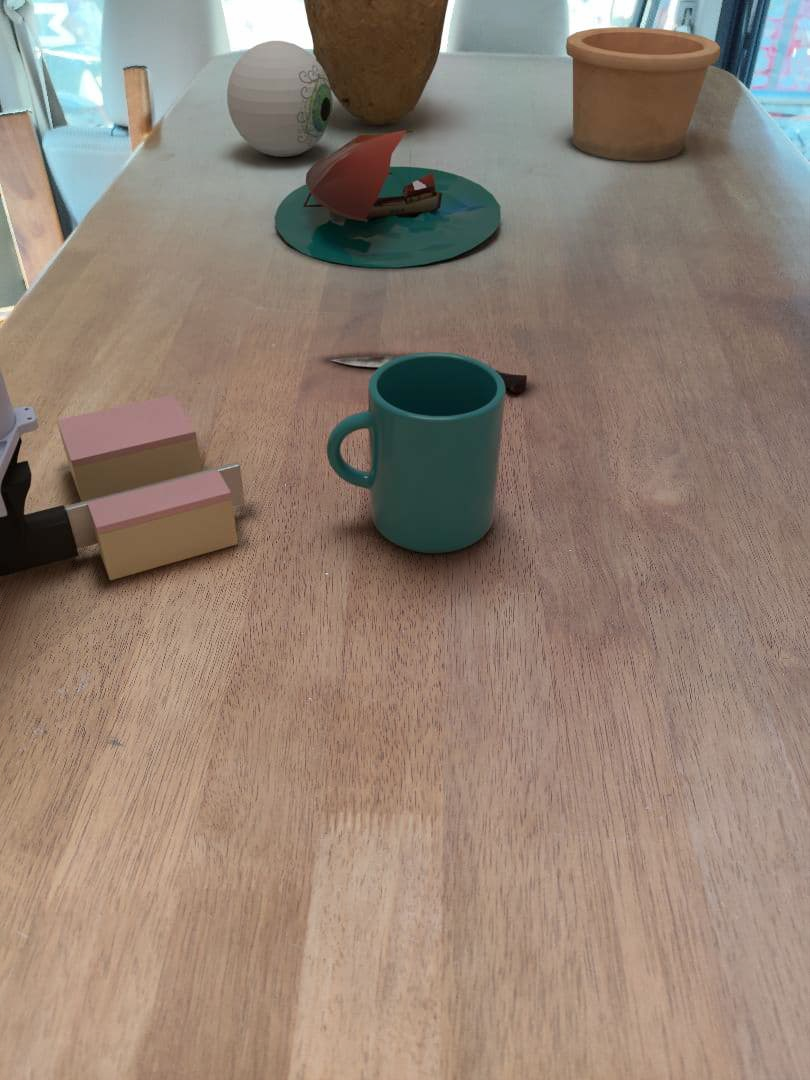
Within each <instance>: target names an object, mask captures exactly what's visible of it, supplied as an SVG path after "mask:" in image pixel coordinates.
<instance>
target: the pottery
mask: <svg viewBox="0 0 810 1080" xmlns="http://www.w3.org/2000/svg"><path fill="white" fill-rule="evenodd" d="M565 50H566V51H565V52H566V55H567V56H569V57H571V58H572V144H573V145H574V146H575V147H576V149H578V150H580V151H581V152H583V153H586V154H588V155H591V156H594V157H597V158H598V157H599V158H603V159H607V160H612V161H613V160H615V161H624V162H653V161H660V160H667V159H669V158H672V157H674V156H676V155H678V154H679V153H680V152H681V150H682V149H683V145H684V142H685V140H686V136H687V133H688V130H689V128H690V123H691V121H692V118H693V115H694V112H695V108H696V106H697V103H698V100H699V97H700V93H701V92H702V88H703V85H704V82H705V79H706V75H707V72H708V70H709V67H712V66H713V65H714V64H716V63H717V62H718V60H719V59H720V54H721V47H720V45H719V44H718V42H717V41H715V40H712V39H710V38H707V37H706V36H703V35H699V34H694V33H689V32H685V31H679V30H673V29H672V30H671V29H663V28H655V27H654V28H653V27H639V26H638V27H637V26H636V27H633V26H631V27H629V26H624V27H623V26H622V27H621V26H619V27H616V26H614V27H613V26H612V27H600V28H599V27H598V28H590V29H585V30H580V31H576V32H573V33H572V34H570V35H569V36H567V37H566V44H565Z"/></svg>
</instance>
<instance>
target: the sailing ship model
mask: <svg viewBox="0 0 810 1080" xmlns="http://www.w3.org/2000/svg"><path fill="white" fill-rule="evenodd" d="M412 132H413V129H408V130H405V129H404V130H401V131H394V132H388V133H382V134H375V135H374V134H373V135H371V134H362V133H361V134H358V135H357V136H356V137H354V138H353V139H351V140H350V141H348V142H347V143H346V144H344V145H343V146H342V147H340V148H339V149H337V150H336V151H334V152H332V153H330V154H328V155H327V156H323V157H322V158H321V159H319V160H317V161H316V162H315V163H313V165H311V167H310V169H308V171H307V172H306V174H305V184H303V185H302V186H300V187H299V186H298V188H296V189H294V190H292V191H291V192H290V193H289V194H287V195H286V196H285V198H283V199H282V201H281V202H280V204H279V205H278V207H277V209H276V212H275V214H274V222H275V226H276V230H277V232H278V233H279V235H280V236H281V237H282V238H283V240H284V242H286V243H287V244H288V245H290V246H291V247H292V248H294V249H296V250H297V251H298V252H300V253H301V254H303V255H306V256H308V257H311V258H315V259H318V260H323V261H327V262H332V263H337V264H342V265H349V266H355V267H363V268H383V269H384V268H387V269H388V268H389V269H391V268H392V269H397V268H404V267H405V268H406V267H413V266H421V265H422V266H423V265H428V264H431V263H435V262H440V261H443V260H448V259H452V258H454V257H457V256H458V255H462V254H463V253H466V252H467V251H470V250H472V249H473V248H475V247H477V246H478V245H481V244H482V243H484V242H485V241H486V240H487V239H488V238H489V237H490V236H492V235H493V234H494V232H496V231H497V229H498V227H499V226H500V222H501V219H502V216H501V214H502V213H501V205H500V204H499V202H498V201H497V199H496V198H495V196H494V195H493V194H492V193H491V192H490V191H489V190H488V189H486V188H485V187H483V186H482V185H481V184H479V183H477V182H475V181H473V180H471V179H469V178H466V177H464V176H461V175H458V174H455V173H452V172H448V171H443V170H440V169H435V168H434V169H433V168H426V167H419V166H418V167H416V166H391V160H392V155H393V153H394V152H395V150H396V148H397V147H398V146H399V144H400V142H401V141H402V140H403V138H404V136H405V135H406V134H407V133H412ZM411 152H412V151H410V153H409V154H410V155H409V157H410V158H409V159H410V160H411V155H412V154H411Z"/></svg>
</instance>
